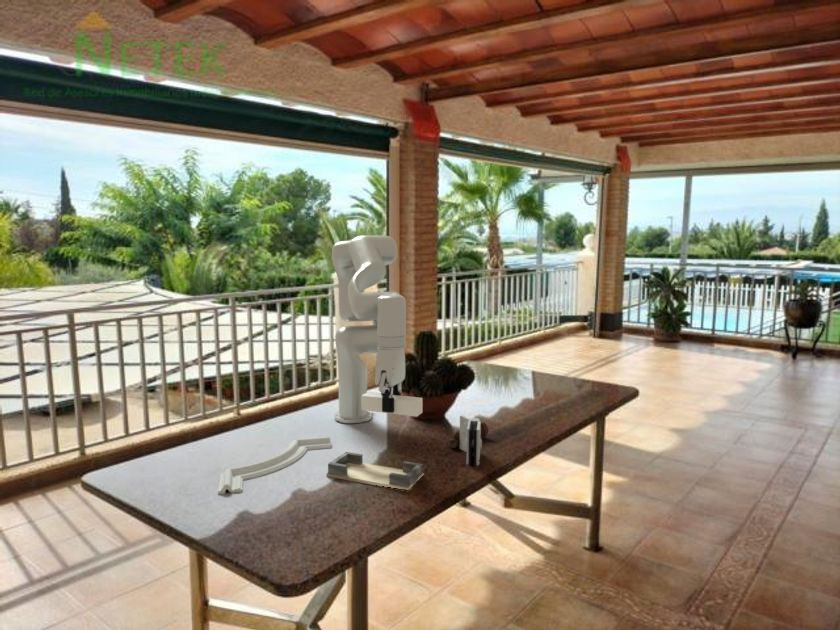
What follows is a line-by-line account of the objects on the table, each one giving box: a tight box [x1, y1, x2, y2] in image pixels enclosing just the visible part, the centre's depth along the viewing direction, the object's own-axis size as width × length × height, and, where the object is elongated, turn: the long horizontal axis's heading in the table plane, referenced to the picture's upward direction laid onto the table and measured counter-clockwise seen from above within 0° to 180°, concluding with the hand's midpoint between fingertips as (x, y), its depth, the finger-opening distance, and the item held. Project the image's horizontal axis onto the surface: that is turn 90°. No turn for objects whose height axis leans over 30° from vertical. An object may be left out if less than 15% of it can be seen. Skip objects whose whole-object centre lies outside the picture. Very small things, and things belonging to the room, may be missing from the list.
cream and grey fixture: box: [326, 451, 425, 491], centre depth 153 cm, size 10×23×3 cm, turn 68°
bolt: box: [448, 420, 490, 449], centre depth 178 cm, size 6×5×15 cm
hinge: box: [459, 414, 483, 467], centre depth 166 cm, size 14×5×10 cm, turn 5°
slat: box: [361, 391, 424, 418], centre depth 158 cm, size 4×16×4 cm, turn 69°
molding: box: [217, 436, 332, 495], centre depth 161 cm, size 42×12×3 cm, turn 150°
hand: (391, 408), depth 158 cm, fingers closed on slat, 4 cm apart
